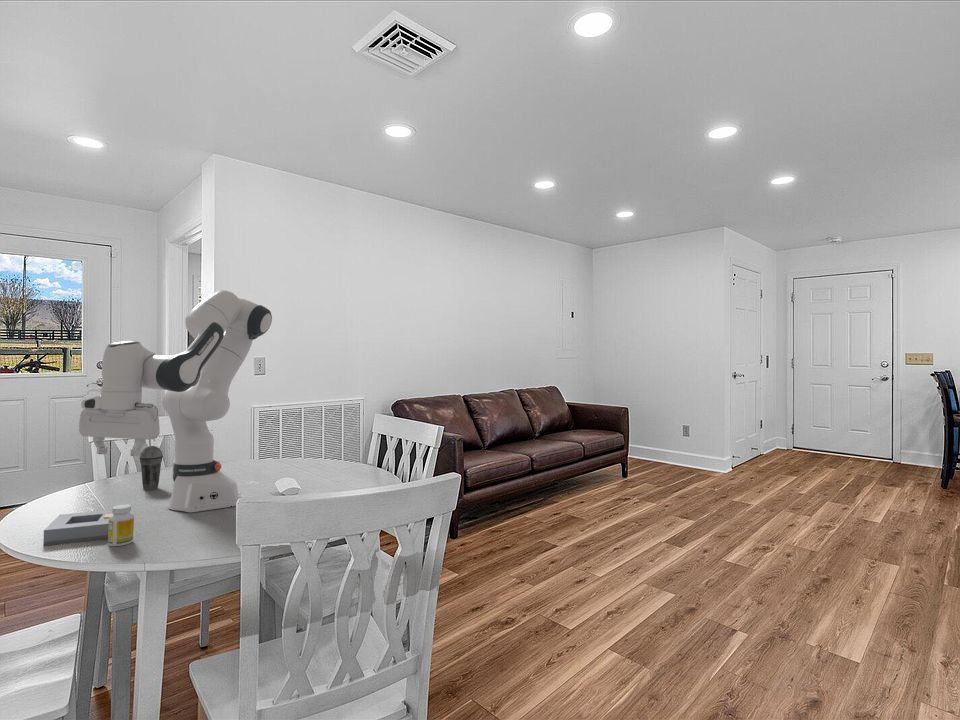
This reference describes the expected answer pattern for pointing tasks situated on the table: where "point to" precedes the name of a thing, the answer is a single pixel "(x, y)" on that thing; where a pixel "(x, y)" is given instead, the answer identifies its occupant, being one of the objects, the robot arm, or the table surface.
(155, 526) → the table surface
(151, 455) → the beverage cup
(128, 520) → the supplement bottle
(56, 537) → the dock
